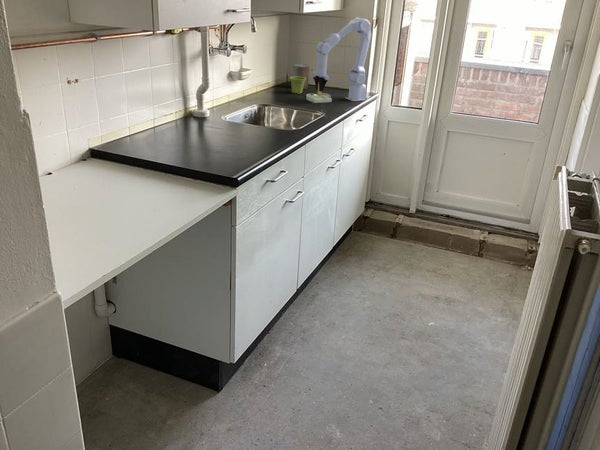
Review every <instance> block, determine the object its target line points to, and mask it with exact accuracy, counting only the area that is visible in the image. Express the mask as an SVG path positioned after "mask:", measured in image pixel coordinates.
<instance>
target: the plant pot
mask: <svg viewBox="0 0 600 450" xmlns="http://www.w3.org/2000/svg"><path fill="white" fill-rule="evenodd" d="M289 79H290V83H291V85H290V86H291V93H293V94H296V93H297V95H298V94H303V91H304V89H303V86H304V82H305V80H306V78H304V77H298V76H290V77H289Z"/></svg>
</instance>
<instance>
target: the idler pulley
mask: <svg viewBox="0 0 600 450" xmlns="http://www.w3.org/2000/svg"><path fill="white" fill-rule="evenodd" d="M305 95H306V96H317V93H306V94H305Z"/></svg>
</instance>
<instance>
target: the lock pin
mask: <svg viewBox="0 0 600 450" xmlns="http://www.w3.org/2000/svg"><path fill="white" fill-rule="evenodd" d="M322 93H323V91H319V82H318V90H317V93H316V95H318V96H321V95H322Z"/></svg>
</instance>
